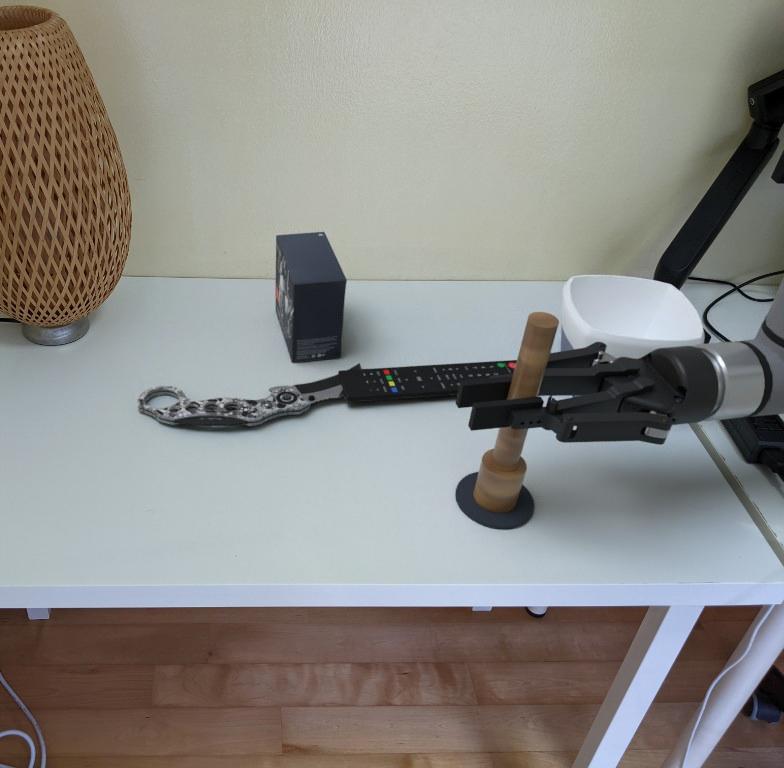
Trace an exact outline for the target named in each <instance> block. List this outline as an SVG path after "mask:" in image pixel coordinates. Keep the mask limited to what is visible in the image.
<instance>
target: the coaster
mask: <svg viewBox="0 0 784 768" xmlns="http://www.w3.org/2000/svg"><path fill="white" fill-rule="evenodd" d="M478 472H479V471H475V472H471V473H469V474H467V475H465V476H463V478H462V479H460V481H458V483H457V486H456V488H455V492H454V493H455V495H454V496H455V501H456V503H457V506H458V508H459V509H460V510H461V511H462V513H463V514H464V515H465V516H467V517H468V518H469V519H470V520H472V521H473V522H475V523H477V524H479V525H481V526H484V527H487V528H491V529H496V530H510V529H516V528H519V527H521V526H523V525H525V524H526V523H528V522H529V520H530V519H531V518H532V516H533V514H534V511H535V501H534V498H533V495H532V493H531V492H530V491H529V489H528V488H527V487H526V485H524V484H523V483H522V487H521V490H520V493H519V497H518V500H517V503H516V506H515V507H514V508H513V509H512V510H511V511H509V512H505V513H495V512H491V511H488V510H486V509H484V508H482V507H481V506H480V505H479V504H478V503H477V502H476V501H475V498H474V489H475V485H476V481H477V476H478Z"/></svg>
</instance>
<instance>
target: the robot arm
mask: <svg viewBox="0 0 784 768" xmlns="http://www.w3.org/2000/svg"><path fill="white" fill-rule="evenodd" d="M606 347H607V346H606V344H604V343H602V342H595V343H593V344H591V345H589V346H587V347H585V348H580V349H574V350H567V351H561V350H560V351H556V352H550V356H549V359H548V363H547V366H546V370H545V373H544V377H543V380H542V384H541V387H540V390H539V394H538V397H531V398H519V399H508V400H507V397H508V393H509V389H510V385H511V381H512V377H513V374H505V375H494V376H491V377H489V378H488V379H477V380H466V381H460V385H459V390H458V394H457V395H456V399H455V405H456V407H457V408H458V409H465V408H471V411H470V416H469V419H468V424H467V426H468V428H469V429H470V431H471V432H473V431H483V430H492V429H493V430H494V429H499V428H504V427H510V428H511V429H516V430H519V429H527V428H528V430H530V429H538V428H541V429H543V430H545V431H551V432H553V433H554V434H556V435H555V439H556V441H558V442H560V443H564V444H565V443H566V444H567V443H568V444H569V443H570V444H571V443H603V442H604V443H605V442H606V443H607V442H643V443H649V444H653V445H654V444H655V445H660V446H661V445H664V444H665V443H666V440H667V438H668V436H669V433H670V432H671V429H672V427H673V426H676V425H687V424H695V423H701V422H713V421H723V420H731V419H732V420H733V419H742V418H750V417H763V416H764V417H765V416H775V415H784V276H783V277H782V280H781V282H780V284H779V287H778V289H777V291H776V294H775V296H774V298H773V300H772V302H771V305H770V307H769V310H768V312H767V314H766V315H765V317H764V319H763V321H762V323H761V324H760V327H759V329H758V331H757V333H756V335H755V337H754V338H752V339H745V340H744V339H743V340H738V341H737V340H735V341H724V342H712V343H711V342H710V343H704V344H697V345H694V346H680V347H668V348H658V349H655V350H653V351H651V352H650V353H648V354H647V355H645V356H643V357H642V358H639V359H635V358H628V357H619V358H615V357H613V356H611V355H610V354H608V353H606V352H605V350H606ZM574 395H583V396H578V397H575V396H574ZM542 396H545V397H547V396H548V398H547V401H546V404H545V406H544V403H545V401H544V399H543V398H542ZM555 396H558V397H560V396H562V397H563V396H564V397H565V396H573V397H568V398H563V399H558V400H557V399H555V398H554V397H555ZM575 427H576V428H575ZM574 428H575V429H574Z"/></svg>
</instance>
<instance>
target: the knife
mask: <svg viewBox="0 0 784 768" xmlns="http://www.w3.org/2000/svg"><path fill="white" fill-rule="evenodd" d="M361 366H362V365H361V363H360V362H358V363H357V364H355V365H353V366H352V367H350V368H348V369H347V370H357V369H362V367H361ZM268 391H269V392H270V393H271V394H270V395H269V396H268V397H265V398H260V399H259V398H258V399H246V398H241V397H229V396H227V397H226V396H225V397H214V398H209V399H203V400H191V399H188V398H187V397H186V394H185V393H184V391H183V390H182V389H181V388H178V387H176V386H173V385H158V386H153V387H150V388H148V389H146V390H144V391H143V392H142V393H140V395H139V396H138V398H137V399H136V403H137V411H139V412H141V413H143V414H147V415H148V416H151V417H153V418H155V419H156V420H157V421H158V422H160V423H163V424H168V425H172V426H175V425H179V424H181V425H188V426H198V427H200V426H201V427H229V426H230V427H231V426H240V425H241V426H242V425H245V426H249V427H253V426H257V425H258V426H259V425H262V424H263V423H265V422H267V421H269V420H272V419H275V418H279V417H282V416H283V417H285V416H291V415H292V416H293V415H301V414H303V413H304V412H306V411H308V410H309V409H310V407H311V405H314V404H315V403H319V402H320V401H321V402H323V401H324V400H326V401H327V400H330V399H331V400H332V399H340V398H342V397H344V396H343V395H344V391H343V388H342V385H341V383H340V381H339V378H338V373H337V374H334V375H331V376H327V377H324V378H321V379H318V380H315V381H310V382H304V383H298V384H297V383H296V384H293V385H276V386H271V387H269V388H268ZM161 395H162V396H165V395H167V396H172V397H174V398H176V399H177V400H178V401H176V402H175V403H174V404H172V405H170V406H167V407H153V406H150V405H148V404H147V402H148V401H149V400H150V399H152V398H154V397H156V396H161Z"/></svg>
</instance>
